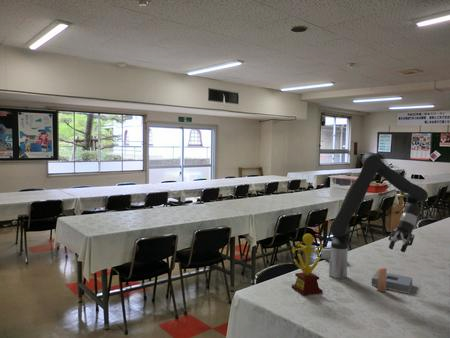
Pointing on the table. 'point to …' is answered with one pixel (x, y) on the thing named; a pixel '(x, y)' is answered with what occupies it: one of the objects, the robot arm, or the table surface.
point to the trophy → (307, 269)
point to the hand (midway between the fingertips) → (396, 250)
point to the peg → (381, 279)
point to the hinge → (326, 253)
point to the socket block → (395, 282)
